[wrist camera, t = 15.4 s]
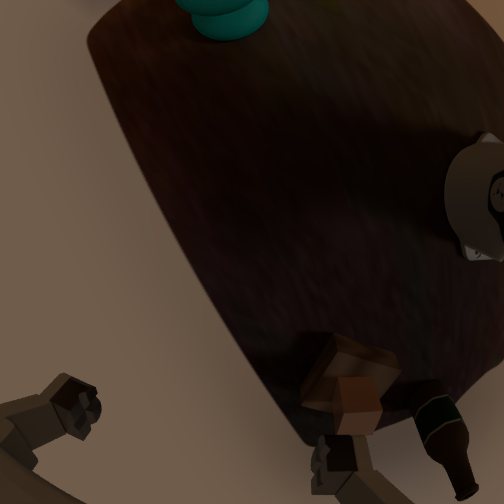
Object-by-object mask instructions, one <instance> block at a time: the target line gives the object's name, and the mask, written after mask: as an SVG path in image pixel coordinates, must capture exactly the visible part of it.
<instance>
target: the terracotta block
mask: <svg viewBox="0 0 504 504" xmlns="http://www.w3.org/2000/svg"><path fill="white" fill-rule="evenodd" d="M332 407H333V415H334V424H335V433H336V435H372V434H373V432H374V430H375V428H376V426H377V423H378V421H379V419H380V417H381V414H382V412H383V409H382V406H381V403H380V399H379V396H378V393H377V390H376V387H375V384H374V380H373V377H372V376H361V377H338V378H337V383H336V387H335V391H334V395H333V399H332Z"/></svg>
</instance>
